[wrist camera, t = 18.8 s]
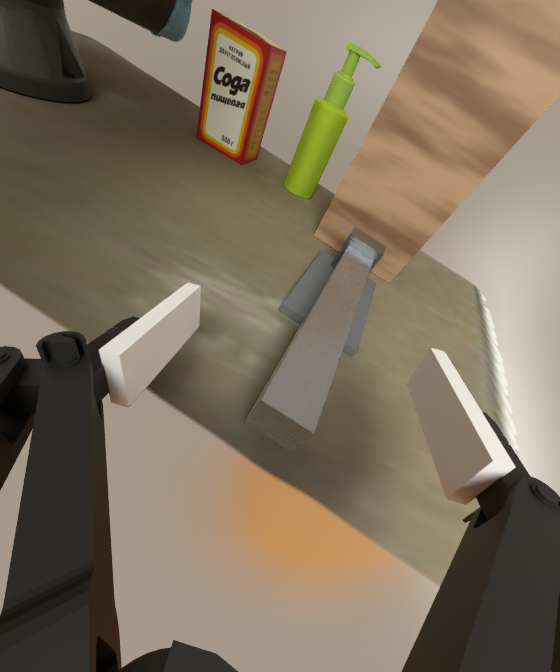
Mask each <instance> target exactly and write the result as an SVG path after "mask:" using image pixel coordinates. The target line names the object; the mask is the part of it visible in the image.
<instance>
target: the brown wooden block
mask: <svg viewBox="0 0 560 672" xmlns="http://www.w3.org/2000/svg"><path fill="white" fill-rule="evenodd" d="M559 95H560V0H438V2H437V4H436V5H435V8H434V9H433V11H432V13H431V15H430V17H429V19H428V21H427V22H426V24H425V26H424V28H423V30H422V32H421V34H420V36H419V38H418V39H417V41H416V43H415V45H414V47H413V49H412V51H411V53H410V54H409V57H408V58H407V60H406V62H405V64H404V66H403V68H402V70H401V71H400V73H399V75H398V77H397V79H396V81H395V83H394V85H393V87H392V88H391V90H390V92H389V94H388V96H387V98H386V100H385V102H384V103H383V105H382V107H381V109H380V111H379V113H378V115H377V117H376V119H375V120H374V122H373V124H372V126H371V128H370V130H369V132H368V134H367V136H366V137H365V139H364V141H363V143H362V145H361V147H360V149H359V151H358V153H357V155H356V156H355V158H354V160H353V162H352V164H351V166H350V168H349V169H348V171H347V173H346V175H345V177H344V179H343V181H342V183H341V185H340V186H339V188H338V190H337V192H336V194H335V196H334V198H333V200H332V202H331V203H330V205H329V207H328V209H327V211H326V213H325V215H324V217H323V219H322V220H321V222H320V224H319V226H318V228H317V230H316V232H315V234H314V235H313V236H315V237H316V238H318V239H320V240H321V241H323V242H324V243H326V244H327V245H329V246H331V247H332V248H334V249H335V250H337V251H339V250H340V249H341V247H342V246H343V244H344V242H345V241H346V239H347V238H348V236H349V235H350V233H351V232H352V230H353V228H354V227H356V228H358V229H359V230H361V231H363V232H364V233H366V234H367V235H369V236H371V237H372V238H374V239H375V240H377V241H379V242H380V243H382V244H383V245H385V246H386V249H385V252H384V255H383V257H382V258H381V259H380V260H379V262H378V263H377V264H376V265H375V267H374V268H373V269H372V270H371V272H372V273H374V274H375V275H377V276H379V277H380V278H382V279H383V280H385V281H387V282H388V283H390V281H391V280H392V279H393V278H394V277H395V276H396V275H397V274H398V273H399V272H400V270H401V269H402V268H403V267H404V266H405V265H406V264H407V263H408V262H409V260H410V259H411V258H412V257H413V256H414V255H415V254H416V253H417V252H418V251H419V249H420V248H421V247H422V246H423V245H424V244H425V243H426V242H427V241H428V239H429V238H430V237H431V236H432V235H433V234H434V233H435V232H436V231H437V230H438V228H439V227H440V226H441V225H442V224H443V223H444V222H445V221H446V220H447V218H448V217H449V216H450V215H451V214H452V213H453V212H454V211H455V209H457V207H458V206H459V205H460V204H461V203H462V202H463V201H464V200H465V199H466V198H467V196H468V195H469V194H470V193H471V192H472V191H473V190H474V189H475V188H476V187H477V185H478V184H479V183H480V182H481V181H482V180H483V178H484V177H486V175H487V174H488V173H489V172H490V171H491V170H492V169H493V168H494V166H496V164H497V163H498V162H499V161H500V160H501V159H502V158H503V157H504V155H505V154H506V153H507V152H508V151H509V150H510V149H511V148H512V147H513V146H514V145H515V143H516V142H517V141H518V140H519V139H520V138H521V137H522V135H524V133H525V132H526V131H527V130H528V129H529V128H530V127H531V126H532V125H533V124H534V122H535V121H536V120H537V119H538V118H539V117H540V116H541V115H542V114H543V112H544V111H545V110H546V109H547V108H548V107H549V106H550V105H551V104H552V103H553V101H554V100H555V99H556V98H557V97H558V96H559Z"/></svg>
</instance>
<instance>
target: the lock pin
mask: <svg viewBox="0 0 560 672" xmlns="http://www.w3.org/2000/svg"><path fill="white" fill-rule="evenodd" d="M385 249H386V246H385V245H383V244H382V243H380V242H379V241H377V240H375V239H374V238H372V237H371V236H369V235H367V234H366V233H364V232H363V231H361V230H359V229H358V228H356V227H354V228H353V230H352V232H351V233H350V235H349V236H348V238H347V239H346V241H345V242H344V244H343V246H342V247H341V249H340V250H339V252H338V253H337V255H336V256H335V258H334V260H333V261H332V263H331V266H332V267H334V268H333V270H332V272H331V273H330V275H329V277H328V279H327V280H326V282H325V284H324V286H323V287H322V289H321V291H320V292H319V294H318V296H317V298H316V299H315V301H314V303H313V305H312V306H311V308H310V310H309V311H308V313H307V315H306V317H305V318H304V320H303V322H302V323H301V325H300V327H299V329H298V330H297V332H296V334H295V336H294V337H293V339H292V341H291V342H290V344H289V346H288V348H287V349H286V351H285V353H284V355H283V356H282V358H281V360H280V361H279V363H278V365H277V367H276V368H275V370H274V372H273V373H272V375H271V377H270V379H269V380H268V382H267V384H266V386H265V387H264V389H263V391H262V392H261V394H260V396H259V398H258V399H257V401H256V403H255V405H254V406H253V408H252V410H251V411H250V413H249V415H248V417H247V418H246V420H245V423H246V424H248V425H249V426H251V427H252V428H254V429H256V430H257V431H259V432H260V433H262V434H263V435H265V436H267V437H268V438H270V439H271V440H273V441H274V442H276V443H278V444H279V445H281V446H282V447H284V448H285V449H287V450H289V451H290V450H292V449H293V448H294V447H296V446H297V445H299V444H300V443H301V442H303V441H304V440H306V439H307V438H309V437H310V436H311V435H313V434H314V433H315V430H316V427H317V424H318V421H319V418H320V415H321V412H322V409H323V406H324V403H325V400H326V397H327V394H328V392H329V389H330V386H331V383H332V380H333V377H334V374H335V371H336V368H337V365H338V362H339V359H340V356H341V353H342V351H343V348H344V345H345V342H346V339H347V336H348V333H349V330H350V327H351V324H352V321H353V318H354V315H355V312H356V310H357V307H358V304H359V301H360V298H361V295H362V292H363V289H364V286H365V283H366V280H367V277H368V274H369V273H370V272H371V270H372V269H373V268H374V267H375V265H376V264H377V263H378V262H379V260H380V259H381V258H382V257H383V255H384V252H385Z"/></svg>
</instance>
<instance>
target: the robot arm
mask: <svg viewBox="0 0 560 672" xmlns="http://www.w3.org/2000/svg"><path fill="white" fill-rule="evenodd" d="M89 1H91V2H93V3H95V4H97V5H99V6H101V7H103V8H105V9H107V10H109V11H111V12H113V13H115V14H117V15H119V16H121V17H123V18H125V19H127V20H129V21H131V22H133V23H135V24H137V25H139V26H141V27H143V28H145V29H147V30H149V31H150V32H151V33H152V34H153V35H155V36H159V37H160V36H162V37H165V38H167V39H169V40H172V41H175V42H177V41H180V40H181V39H182V38H183V37H184V35H185V33H186V30H187V26H188V23H189V18H190V13H191V3H192V0H89ZM0 87H2V88H5V89H8V90H11V91H15V92H18V93H21V94H25V95H29V96H33V97H37V98H42V99H47V100H53V101H61V102H82V101H86V100H88V99H89V98H90V96H91V94H90V86H89V78H88V75H87V72H86V69H85V67H84V64H83V62H82V59H81V56H80V54H79V51H78V49H77V46H76V43H75V41H74V38H73V35H72V33H71V30H70V28H69V25H68V23H67V19H66V15H65V10H64V3H63V0H0ZM200 292H201V286H199V285H195V284H192V283H186V284H185V285H184V286H182V287H181V288H180V289H178V290H177V291H176V292H174V293H173V294H172V295H170V296H169V297H168V298H166V299H165V300H164V301H163V302H161V303H160V304H159V305H157V306H156V307H155V308H153V309H152V310H151V311H149V312H148V313H147V314H145V315H144V316H143V317H141V318H136V317H131V318H128V319H125V320H122V321H121V322H119V323H118V324H116V325H115V326H114V327H113V328H111V329H109V330H108V331H106V333H104V334H102V335H101V336H99V337H98V338H96V339H95V340H94V341H92V342H91V343H89V344H88V345H87V343H86V339H85V337H84V335H82V334H80V333H77V332H72V331H63V332H58V333H53V334H51V335H48V336H45V337H44V338H42V339H41V340H39V341H38V343H37V345H36V347H37V349H38V352H39V354H40V357H41V359H24V357H23V355H22V353H21V351H20V350H19V349H17V348H15V347H7V346H4V347H0V490H1V488H2V486H3V484H4V482H5V480H6V478H7V477H8V474H9V473H10V471H11V469H12V467H13V465H14V463H15V461H16V459H17V457H18V455H19V454H20V452H21V450H22V448H23V446H24V444H25V442H26V440H27V438H28V436H29V434H30V432H31V430H32V429H33V431H32V437H31V443H30V449H29V455H28V461H27V467H26V473H25V479H24V485H23V491H22V497H21V503H20V509H19V515H18V521H17V527H16V533H15V539H14V545H13V551H12V557H11V563H10V569H9V576H8V581H7V587H6V593H5V599H4V604H3V609H2V613H1V615H0V672H238V671H236V670H235V669H234V668H233V667H232V666H230V665H229V664H228V663H227V662H226V661H225V660H223V659H222V658H221V657H220V656H219V655H217V654H215V653H212V652H209V651H206V650H202V649H200V648H197V647H193V646H190V645H187V644H184V643H181V642H178V641H175V640H174V641H173V643H172V646H171V648H165V649H159V650H156V651H153V652H150V653H147V654H145V655H143V656H141V657H139V658H137V659H135V660H133V661H132V662H130V663H129V664H127V665H126V666H124V667H123V668H121V655H120V654H121V653H120V638H119V627H118V619H117V613H116V608H115V601H114V586H113V570H112V554H111V553H112V552H111V536H110V518H109V500H108V484H107V466H106V449H105V432H104V414H103V403H102V399H103V398H104V397H105V396H106V395H107V394H108V393H109V395H110V399H111V402H112V403H115V404H119V405H122V406H126V407H130V406H131V405H132V403H133V402H134V401H135V400H136V399H137V397H138V396H139V395H140V394H141V393H142V392H143V391H144V390H145V388H146V387H147V386H148V385H149V384H150V383H151V382H152V380H153V379H154V378H155V377H156V376H157V375H158V373H159V372H160V371H161V370H162V369H163V368H164V367H165V365H166V364H167V363H168V362H169V361H170V360H171V359H172V357H173V356H174V355H175V354H176V353H177V352H178V351H179V349H180V348H181V347H182V346H183V345H184V344H185V342H186V341H187V340H188V339H189V338H190V337H191V336H192V334H193V333H194V332H195V331H196V330H197V329H198V328H199V321H200ZM407 386H408V388H409V391H410V394H411V397H412V400H413V403H414V406H415V409H416V412H417V415H418V417H419V420H420V423H421V426H422V429H423V432H424V435H425V438H426V441H427V444H428V446H429V449H430V452H431V455H432V458H433V461H434V464H435V467H436V470H437V472H438V475H439V478H440V481H441V484H442V487H443V490H444V493H445V496H446V499H448V500H452V501H455V502H459V503H462V504H468V503H469V502H470V501H472V500H473V499H474V498H477V500H478V502H479V505H480V508H478V509H477V510H475V511H474V512H473V513H471V514H470V515H468V516H467V517H466V518H464V519H463V521H464V522H465V523H466V522H468V521H470V523H469V525H468V527H467V529H466V532H465V534H464V536H463V538H462V540H461V543H460V545H459V547H458V549H457V551H456V554H455V556H454V558H453V560H452V562H451V565H450V567H449V569H448V571H447V573H446V575H445V578H444V580H443V582H442V584H441V586H440V589H439V591H438V593H437V595H436V597H435V600H434V602H433V604H432V606H431V608H430V611H429V613H428V615H427V617H426V619H425V622H424V624H423V626H422V628H421V630H420V633H419V635H418V637H417V639H416V642H415V643H414V646H413V648H412V650H411V652H410V655H409V657H408V659H407V661H406V663H405V665H404V668H403V670H402V672H560V497H559V496H558V494H557V493H556V492H555V491H554V490H552V489H551V488H550V487H549V486H548V485H546V484H545V483H543V482H541V481H540V480H538V479H536V478H533V477H531V476H530V475H529V474H528V472H527V470H526V469H525V467H524V466H523V464H522V463H521V461H520V460H519V458H518V457H517V455H516V453H515V452H514V450H513V449H512V447H511V446H510V445H508V441H507V440H506V438H505V436H503V433H502V432H501V430H500V429H499V427H498V426H497V424H496V423H495V422H494V421H493V420H492V419H491V418H490V417H489V416H488V415H487V414H486V413H484V412H482V411H481V410H480V408H479V407H478V405H477V403H476V402H475V400H474V398H473V397H472V395H471V394H470V392H469V390H468V389H467V387H466V385H465V384H464V382H463V381H462V379H461V377H460V376H459V374H458V372H457V371H456V369H455V368H454V366H453V364H452V363H451V361H450V359H449V358H448V356H447V355H446V353H445V351H441V350H437V349H433V348H430V350H429V351H428V353H427V354H426V356H425V357H424V359H423V360H422V362H421V363H420V365H419V366H418V368H417V369H416V371H415V372H414V374H413V375H412V377H411V378H410V380H409V381H408V383H407Z"/></svg>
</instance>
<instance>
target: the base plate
mask: <svg viewBox="0 0 560 672" xmlns="http://www.w3.org/2000/svg"><path fill="white" fill-rule="evenodd" d="M334 258H335V257H334V256H332V255H330V254H329V253H327V252H326V251H324V250H322V251H321V252H320V253H319V255H318V256H317V257H316V259H315V260H314V261H313V263H312V264H311V266H310V267H309V268H308V270H307V271H306V272H305V274H304V275H303V276H302V278H301V279H300V281H299V282H298V283H297V285H296V286H295V287H294V289H293V290H292V291H291V293H290V294H289V296H288V297H287V298H286V300H285V301H284V302H283V304H282V306H281V307H280V309H279V311H281V312H282V313H284V314H285V315H287V316H289V317H290V318H292V319H293V320H295V321H296V322H298V323H300V324H301V323H302V322H303V320H304V318H305V317H306V315H307V313H308V311H309V310H310V308H311V306H312V305H313V303H314V301H315V299H316V298H317V296H318V294H319V292H320V291H321V289H322V287H323V286H324V284H325V282H326V280H327V279H328V277H329V275H330V273H331V272H332V270H333V268H334V267H332V266H331V263H332V261H333V260H334ZM375 285H376V283H375V282H373V281H372V280H370V279H369V278H367V280H366V283H365V286H364V289H363V292H362V295H361V298H360V301H359V304H358V307H357V310H356V312H355V315H354V318H353V321H352V324H351V327H350V330H349V333H348V336H347V339H346V342H345V345H344V348H343V351H344V352H346V353H347V354H349V355H350V356H353V355H354V354H355V353H356V352H357V351H358V347H359V343H360V340H361V336H362V332H363V329H364V325H365V321H366V318H367V314H368V311H369V307H370V303H371V300H372V296H373V292H374V289H375Z"/></svg>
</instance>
